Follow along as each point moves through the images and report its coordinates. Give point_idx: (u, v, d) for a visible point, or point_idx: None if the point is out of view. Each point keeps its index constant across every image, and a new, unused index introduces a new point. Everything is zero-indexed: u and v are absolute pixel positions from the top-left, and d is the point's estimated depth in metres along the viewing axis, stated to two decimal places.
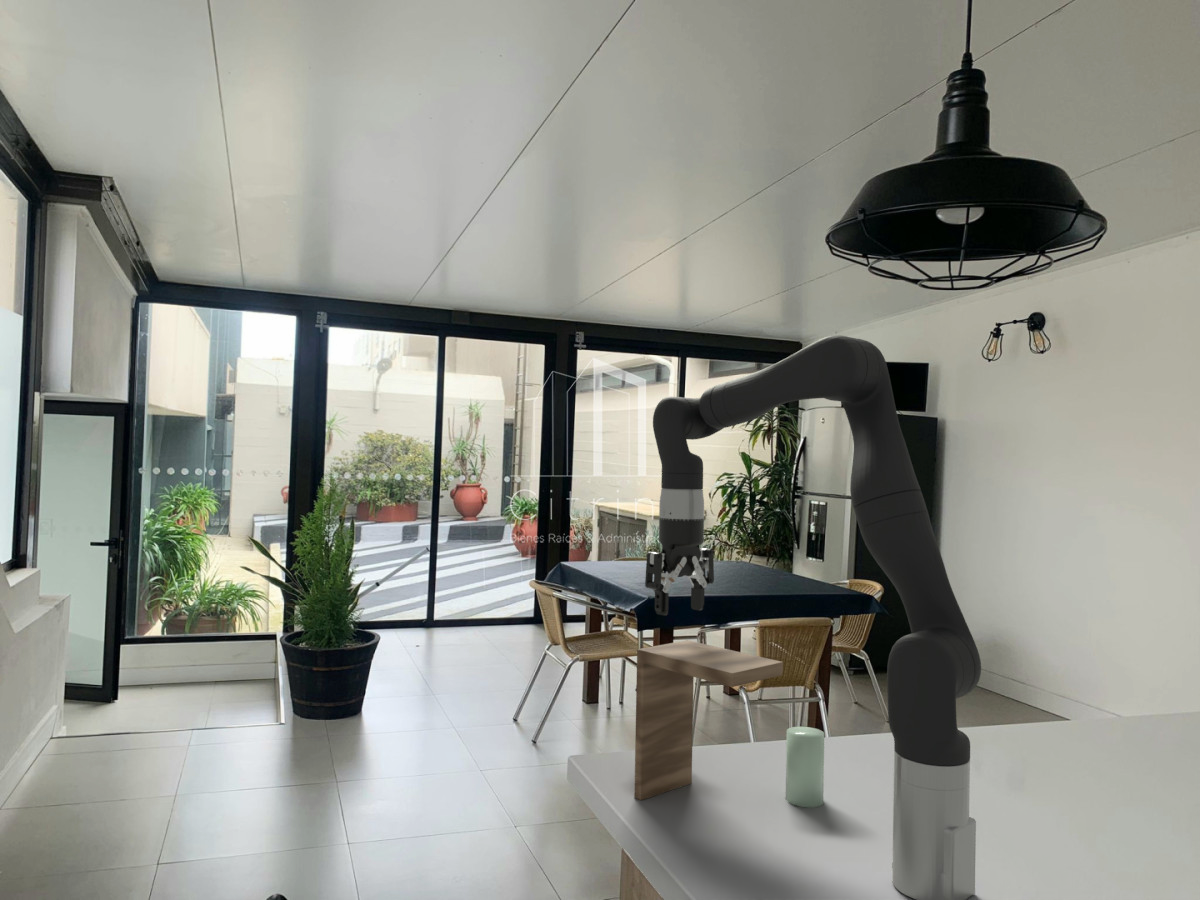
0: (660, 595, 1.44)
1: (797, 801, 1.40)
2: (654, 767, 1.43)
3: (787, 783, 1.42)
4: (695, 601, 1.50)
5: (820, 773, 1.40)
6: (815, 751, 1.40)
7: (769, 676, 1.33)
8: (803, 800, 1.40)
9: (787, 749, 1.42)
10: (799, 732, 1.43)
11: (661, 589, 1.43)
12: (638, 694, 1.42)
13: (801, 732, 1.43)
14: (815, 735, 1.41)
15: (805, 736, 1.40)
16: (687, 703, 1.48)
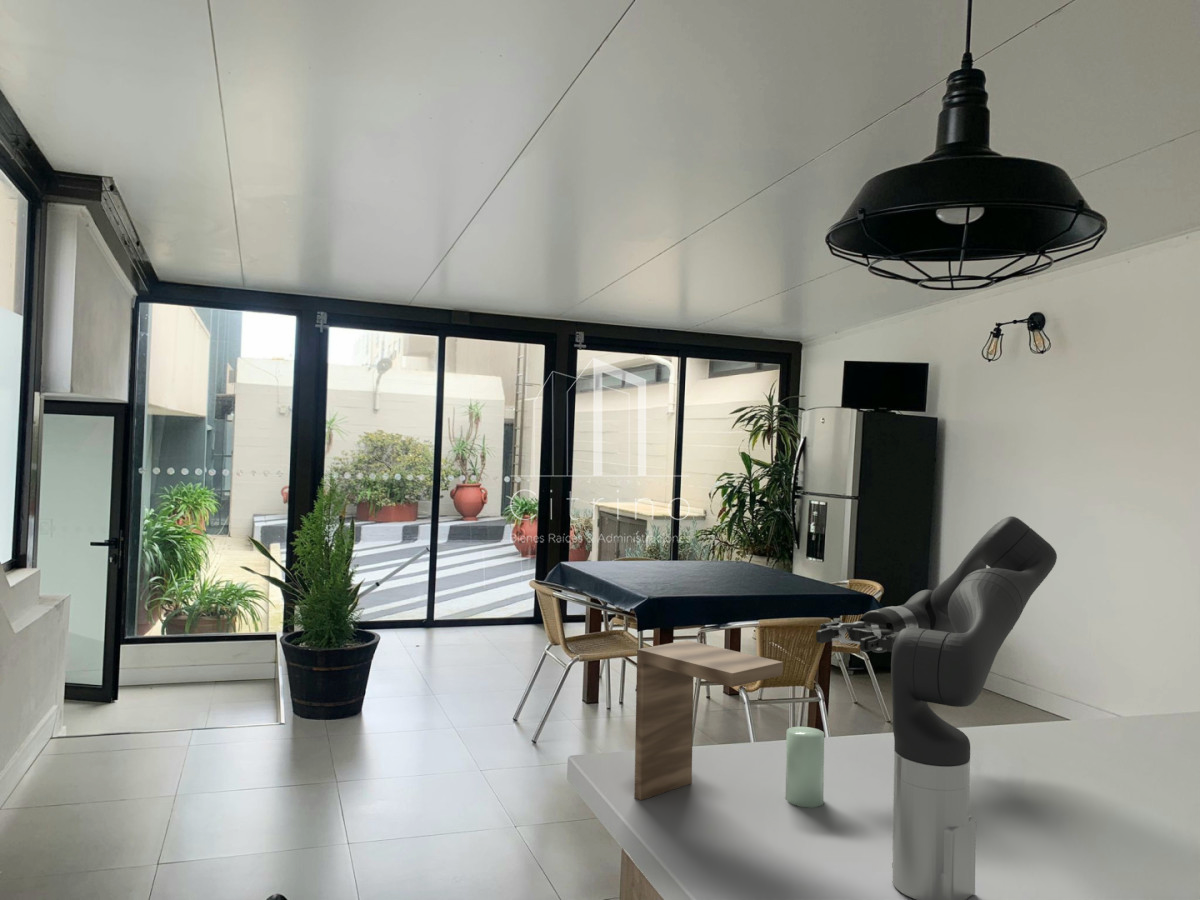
0: None
1: (797, 801, 1.40)
2: (654, 767, 1.43)
3: (787, 783, 1.42)
4: None
5: (820, 773, 1.40)
6: (815, 751, 1.40)
7: (769, 676, 1.33)
8: (803, 800, 1.40)
9: (787, 749, 1.42)
10: (799, 732, 1.43)
11: (827, 628, 1.57)
12: (638, 694, 1.42)
13: (801, 732, 1.43)
14: (815, 735, 1.41)
15: (805, 736, 1.40)
16: (687, 703, 1.48)
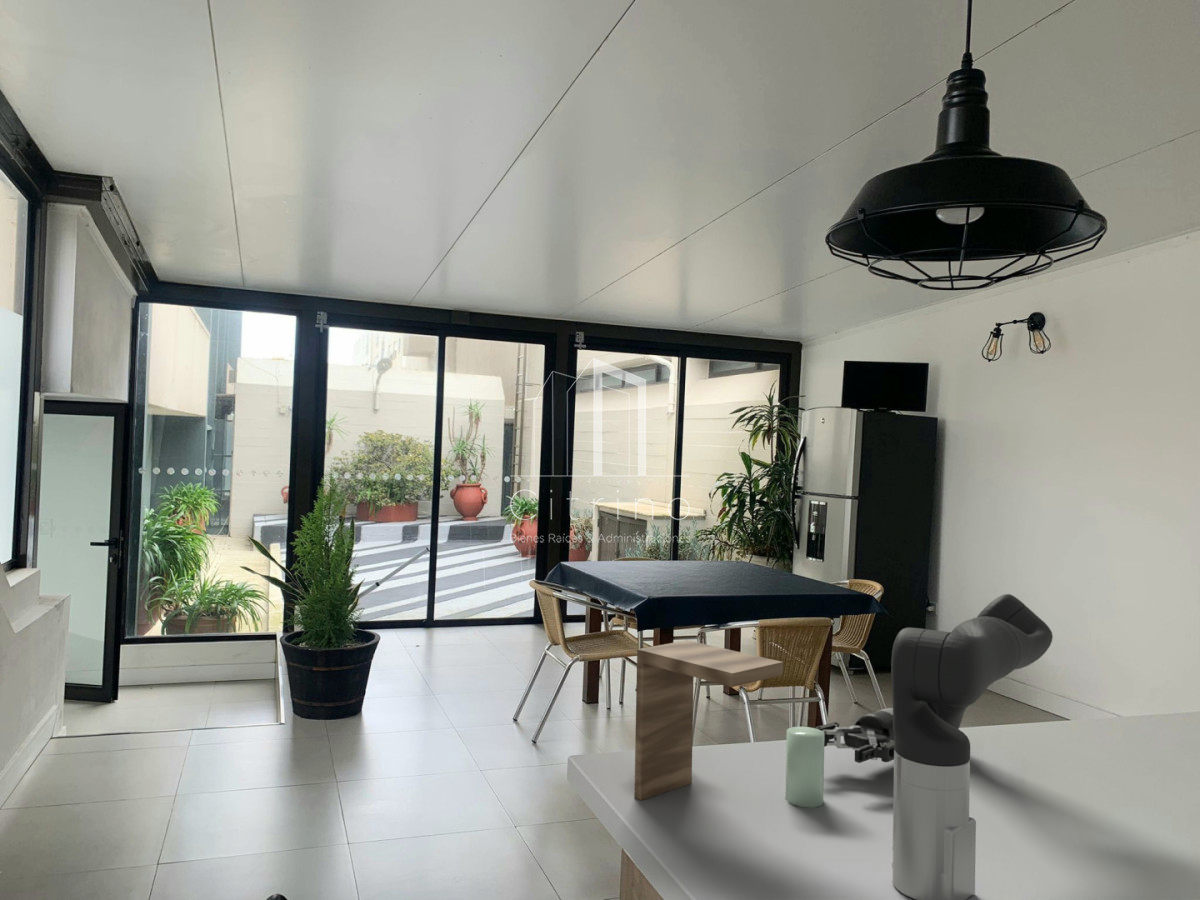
0: None
1: (797, 801, 1.40)
2: (654, 767, 1.43)
3: (787, 783, 1.42)
4: None
5: (820, 773, 1.40)
6: (815, 751, 1.40)
7: (769, 676, 1.33)
8: (803, 800, 1.40)
9: (787, 749, 1.42)
10: (799, 732, 1.43)
11: None
12: (638, 694, 1.42)
13: (801, 732, 1.43)
14: (815, 735, 1.41)
15: (805, 736, 1.40)
16: (687, 703, 1.48)
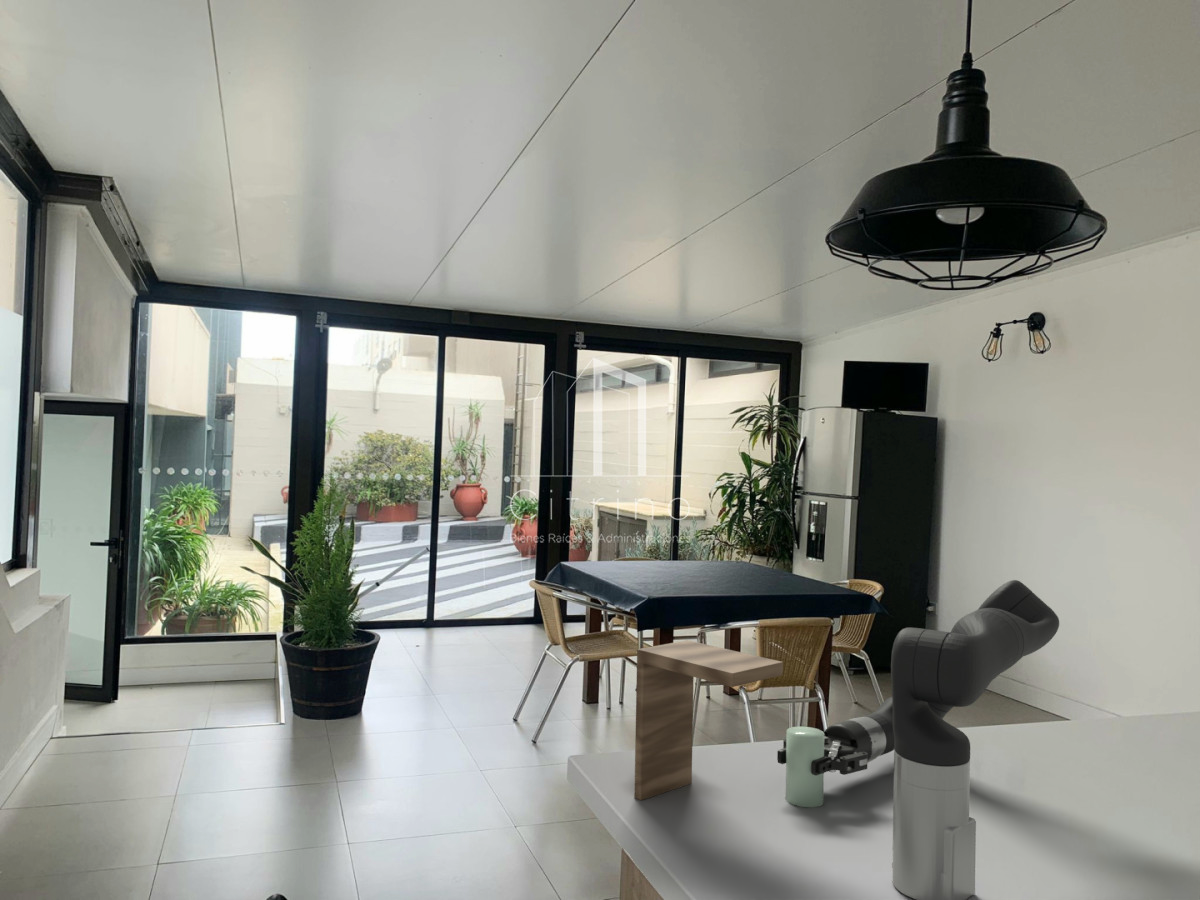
0: None
1: (797, 801, 1.40)
2: (654, 767, 1.43)
3: (787, 783, 1.42)
4: None
5: None
6: (815, 751, 1.40)
7: (769, 676, 1.33)
8: (803, 800, 1.40)
9: (787, 749, 1.42)
10: (799, 732, 1.43)
11: None
12: (638, 694, 1.42)
13: (801, 731, 1.43)
14: (815, 735, 1.41)
15: (805, 736, 1.40)
16: (687, 703, 1.48)
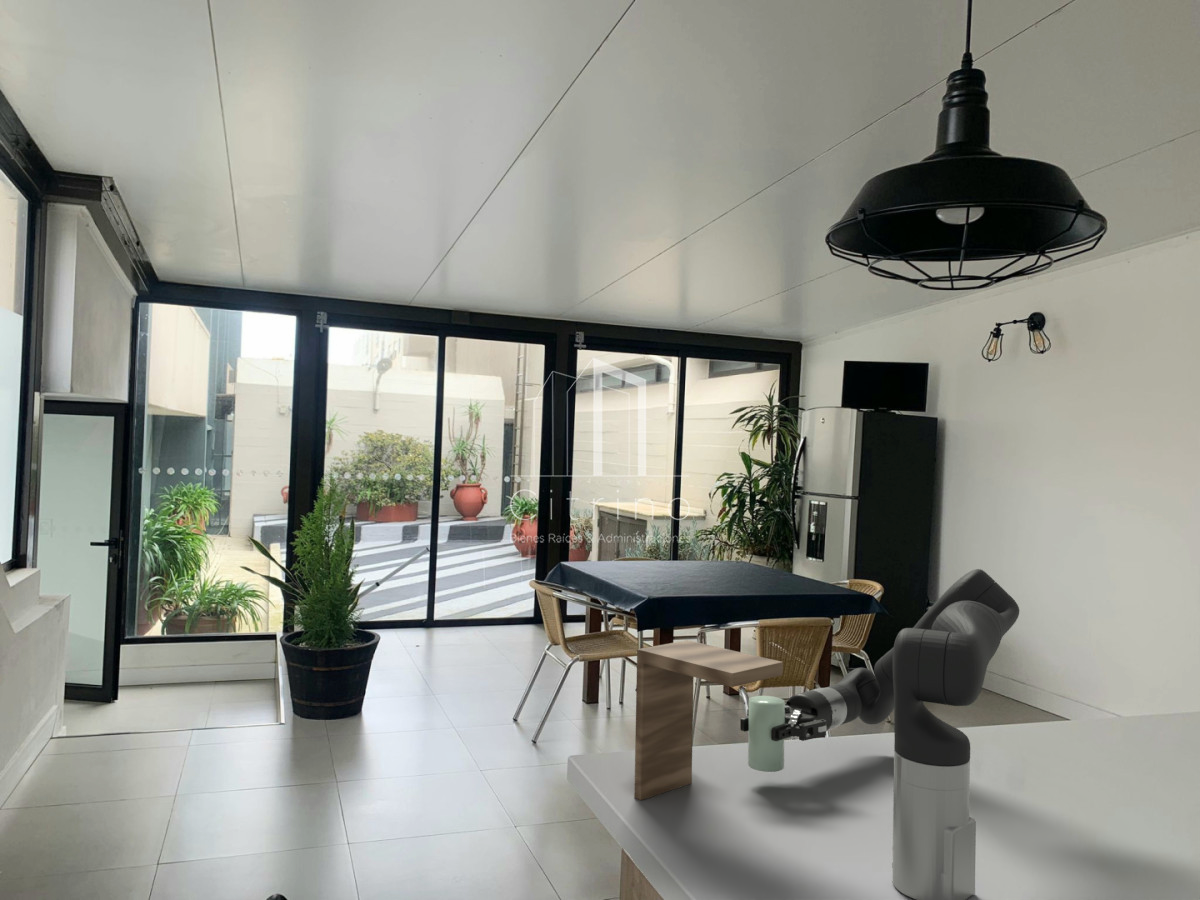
0: None
1: (758, 766, 1.46)
2: (654, 767, 1.43)
3: (749, 749, 1.48)
4: None
5: None
6: (775, 719, 1.46)
7: (769, 676, 1.33)
8: (764, 765, 1.46)
9: (749, 717, 1.49)
10: (761, 700, 1.49)
11: None
12: (638, 694, 1.42)
13: (763, 700, 1.49)
14: (775, 703, 1.47)
15: (766, 704, 1.47)
16: (687, 703, 1.48)
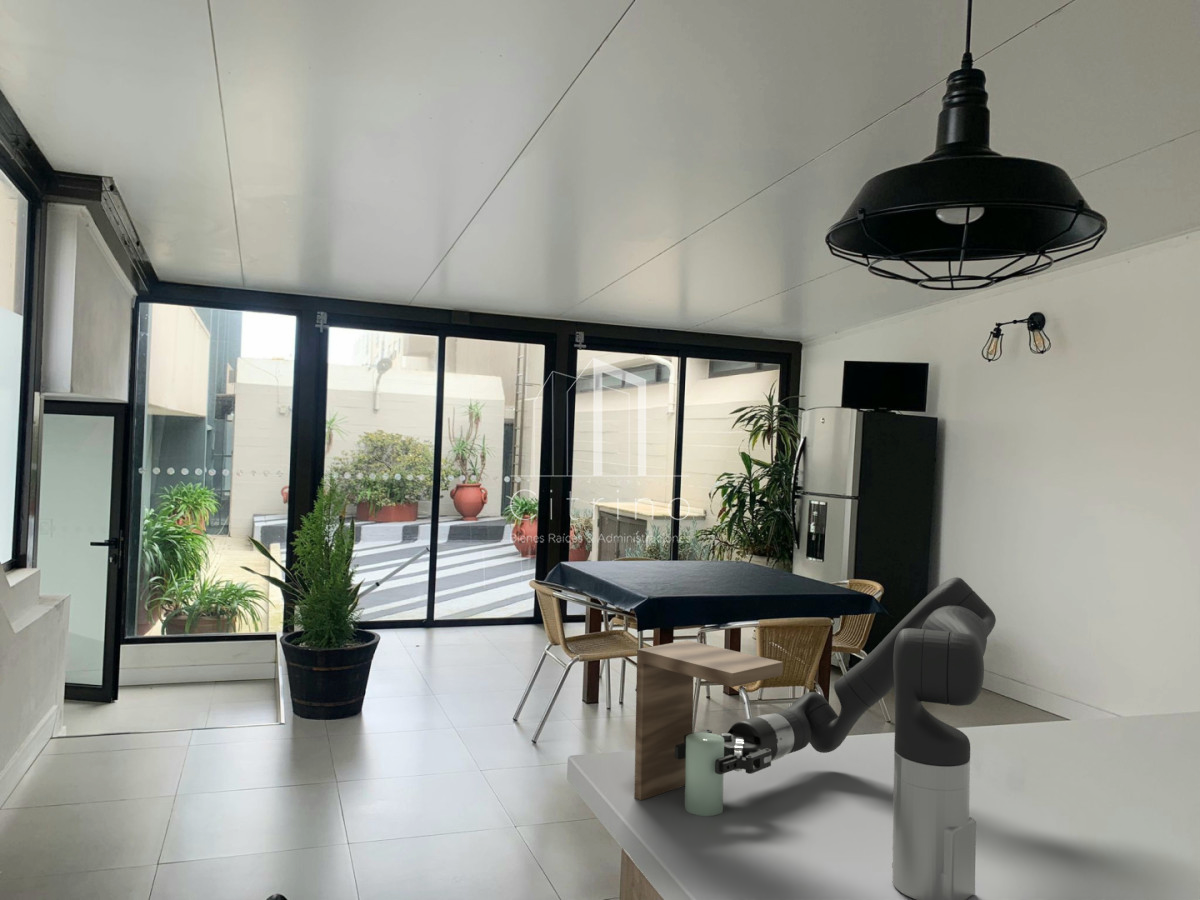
0: None
1: (694, 809, 1.36)
2: (654, 767, 1.43)
3: (686, 791, 1.38)
4: None
5: (719, 780, 1.36)
6: (713, 758, 1.36)
7: (769, 676, 1.33)
8: (700, 809, 1.36)
9: (686, 756, 1.38)
10: (699, 738, 1.38)
11: None
12: (638, 694, 1.42)
13: (701, 738, 1.39)
14: (713, 742, 1.37)
15: (703, 743, 1.36)
16: (687, 703, 1.48)
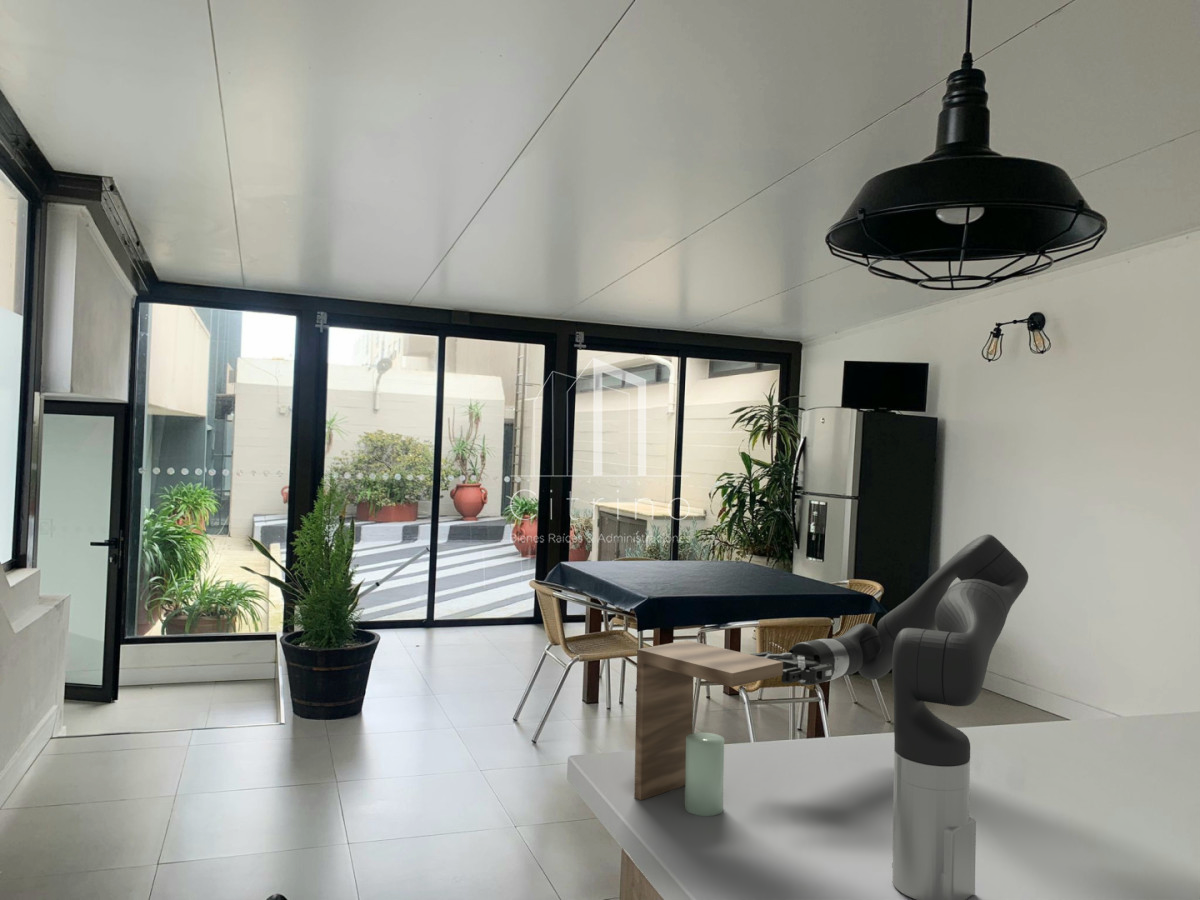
0: None
1: (694, 809, 1.36)
2: (654, 767, 1.43)
3: (686, 791, 1.38)
4: None
5: (719, 780, 1.36)
6: (713, 758, 1.36)
7: (769, 676, 1.33)
8: (700, 809, 1.36)
9: (686, 756, 1.38)
10: (699, 738, 1.38)
11: None
12: (638, 694, 1.42)
13: (701, 738, 1.39)
14: (713, 742, 1.37)
15: (703, 743, 1.36)
16: (687, 703, 1.48)
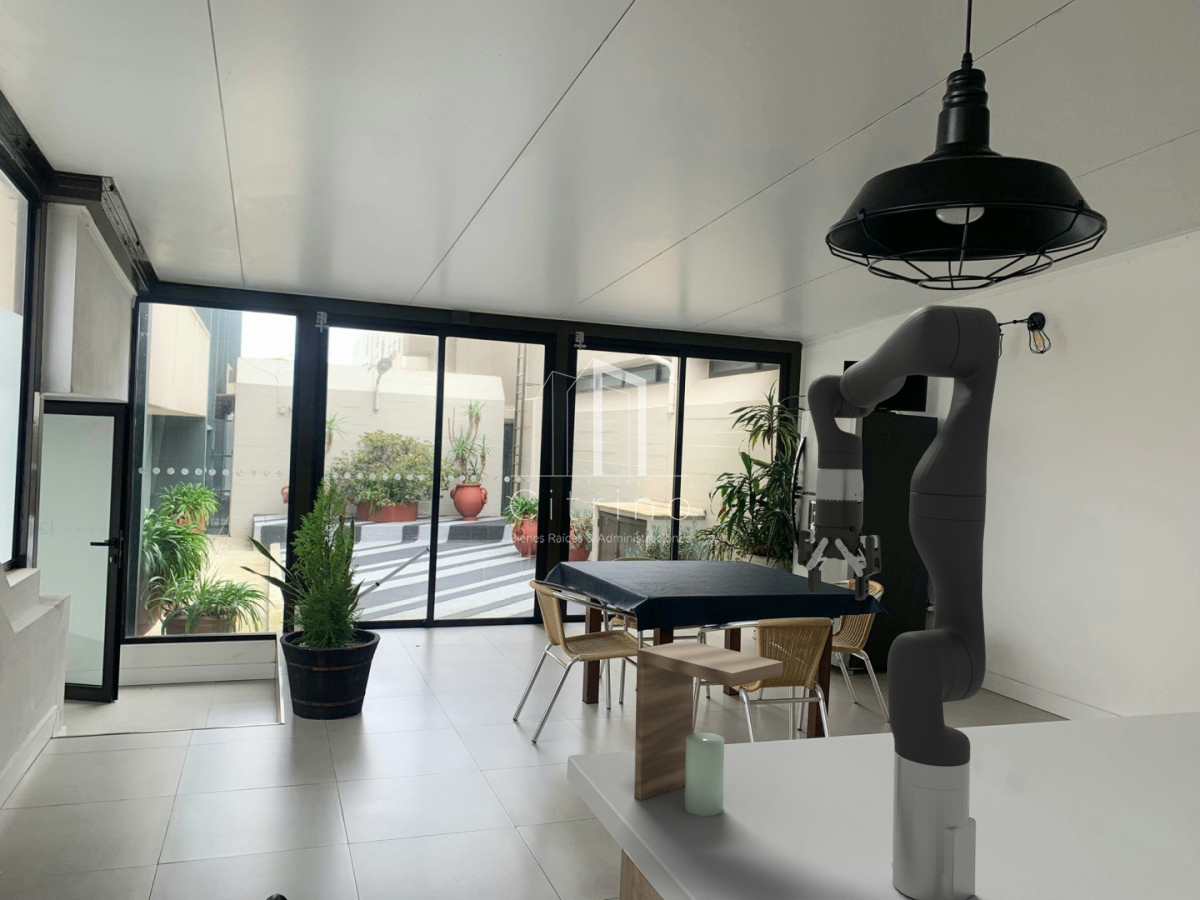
0: (808, 572, 1.47)
1: (694, 809, 1.36)
2: (654, 767, 1.43)
3: (686, 791, 1.38)
4: None
5: (719, 780, 1.36)
6: (713, 758, 1.36)
7: (769, 676, 1.33)
8: (700, 809, 1.36)
9: (686, 756, 1.38)
10: (699, 738, 1.38)
11: None
12: (638, 694, 1.42)
13: (701, 738, 1.39)
14: (713, 742, 1.37)
15: (703, 743, 1.36)
16: (687, 703, 1.48)
